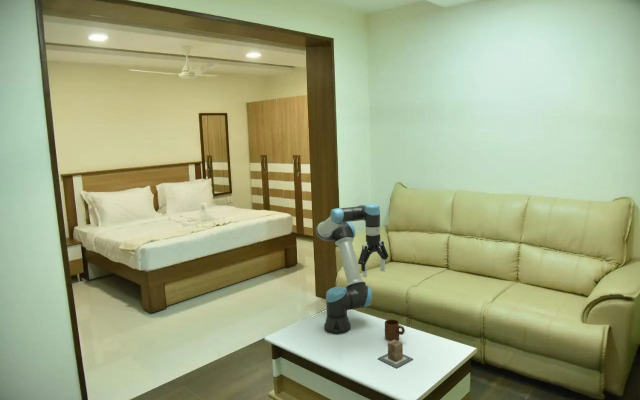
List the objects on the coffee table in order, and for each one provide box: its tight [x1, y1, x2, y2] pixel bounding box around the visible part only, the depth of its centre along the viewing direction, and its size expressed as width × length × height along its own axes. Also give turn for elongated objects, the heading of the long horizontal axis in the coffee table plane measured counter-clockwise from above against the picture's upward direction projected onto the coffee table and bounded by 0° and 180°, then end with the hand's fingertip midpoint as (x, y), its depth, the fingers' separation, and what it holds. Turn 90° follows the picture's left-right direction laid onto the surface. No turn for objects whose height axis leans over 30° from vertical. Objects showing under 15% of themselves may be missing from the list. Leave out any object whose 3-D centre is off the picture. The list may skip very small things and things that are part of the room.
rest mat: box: [377, 352, 414, 369], centre depth 215 cm, size 12×12×1 cm
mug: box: [384, 318, 406, 342], centre depth 235 cm, size 12×8×9 cm, turn 43°
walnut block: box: [387, 340, 404, 362], centre depth 214 cm, size 5×5×8 cm
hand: (373, 274), depth 231 cm, fingers open, 13 cm apart
